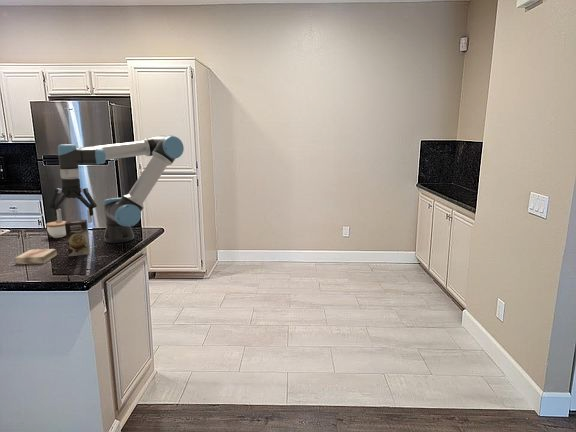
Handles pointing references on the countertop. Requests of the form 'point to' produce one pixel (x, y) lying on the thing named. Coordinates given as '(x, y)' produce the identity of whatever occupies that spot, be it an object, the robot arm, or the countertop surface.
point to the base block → (36, 256)
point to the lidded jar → (56, 229)
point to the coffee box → (77, 237)
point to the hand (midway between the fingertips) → (75, 222)
